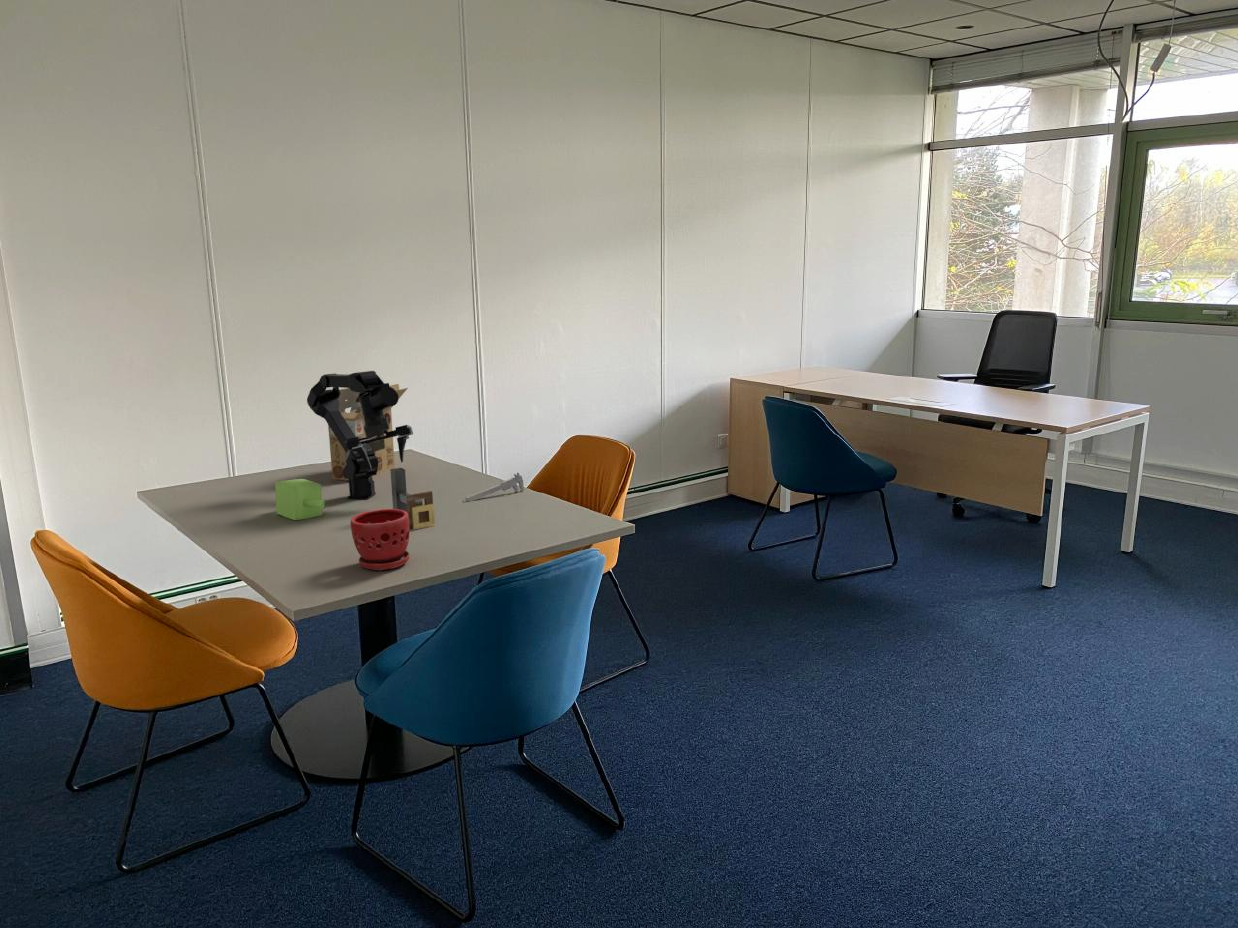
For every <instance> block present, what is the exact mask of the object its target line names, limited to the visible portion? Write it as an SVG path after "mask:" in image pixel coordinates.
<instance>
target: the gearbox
mask: <svg viewBox="0 0 1238 928" xmlns="http://www.w3.org/2000/svg"><path fill="white" fill-rule="evenodd" d="M322 490H323V489H322V484H320V483H317V482H315V481H312V480H308V479H305V478H299V479H298V478H297V479H287V480H280V481H276V482H275V510H276V514H278V515H280V516H282V517H285V518H286V519H290V520H294V521H299V520H306V519H312V518H315V517H320V516H322V515H323V508H324V507H325V500H324V499H323V494H322V493H323V492H322Z"/></svg>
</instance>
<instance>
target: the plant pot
mask: <svg viewBox="0 0 1238 928" xmlns="http://www.w3.org/2000/svg"><path fill="white" fill-rule="evenodd" d="M410 530H411V529H410V528H409V517H408V513H407V512H406V511H403V510H398V509H393V508H385V509H376V510H369V511H364V512H362V513H359V514H356V515H354V516H352V517H351V519H350V531H351V535H352V540H353V542H354V546H355V549H356V551H357V552H358V554H359V556H360V557H359V558H358V563H359V565H361V566H362V567H363V568H365V569H368V570H372V571H384V570H391V569H395V568H399V567H400V566H403V565H404V564H406V563H407V562H408V561H409V559H410V557H411V553H410V552H409V551H408V550H407V548H408V546H409V541H410Z"/></svg>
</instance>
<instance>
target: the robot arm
mask: <svg viewBox="0 0 1238 928" xmlns="http://www.w3.org/2000/svg"><path fill="white" fill-rule="evenodd" d="M390 386H391V385H390V383H389V382H386V383H385V382H384V381H383V380H382V379H381V377H380V376H379V375H378V374H377V371H374V370H367V371H357V372H353V373H349V374H348V373H347V374H343V373H342V374H341V373H340V374H339V373H327V374H326V373H325V374H323V375H321V376H320V378H319V380H318V381H317V383H316V384H314V385H313V386H312V387H311V388H310V390H309V392H308V396H307V399H306V403H307V405H308V407H309V408H310V409H311V410H312V412H313V413H314V414H315V415H316V416H319V417H321V418H322V419H324V420H325V422H326V423H327V426H328V425H329V427H330V428H331V430H332V431H333V433H334V434H335V436H336V438H337V439H338V441H339V442H340V444H341V445H342V447H343V448H344V450H345V452H346V466H345V468H344V469H343V471H342V472H343V476H344V478H346V479H349V481H348V490H349V495H348V496H347V499H349V500H350V499H358V500H359V499H360V500H367V499H370V498H372V497H373V496H375V495H376V489H375V488H376V487H375V481H374V479H373V477H374V476H373V475H375V476H378V475H377V469H378V458H377V457H376V455H375V454H376V453H375V452H374V451H373V450H372V448H371V446H370V445H369V444H366V443H371V442H375V441H379V440H383V439H387V438H391V437H393V438H395V437H396V441H397V446H398V453H399V459H400V463H403V462H404V456H405V447H406V443H407V440H408V439H410V436H412V435H414V432H413V428H412V426H410V425H408V424H404V425H400V426H396V427H395V428H394V429H395V430H393V431H390V432H388V429H389V428H390V426H389V422H388V420H387V417H386V418H385V417H384V413H383V410H384V409H387V408H389V407H392V406H393V407H394V406H396V405H397V404H398V402H399V400H400V398H399V397H398V393H397V392H396V391H395V390H394V389H393V388H392V387H390ZM328 388H332V389H328ZM344 388H350V390H351V391H354V392H360V393H359V395H358V397H357V399H356V402H360V404H361V408H362V412H363V416H364V420H365V426H364V431H365V434H366V437H365V438H361V437H356V436H355V434H354V433H353V431H352V430H351V428H350V427H349V425H348V424H347V422H346V421H345V419H344V417H343V416H342V414H341V413H340V411H339V409H338V408H339V400H338V398H339V396H340V391H339V390H340V389H344ZM366 393H367V394H366ZM393 407H392V408H393ZM383 434H386V435H385V436H382V435H383ZM375 436H377V437H375ZM372 437H374V438H372ZM375 438H376V439H375ZM363 444H364V445H363Z"/></svg>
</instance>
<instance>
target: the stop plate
mask: <svg viewBox="0 0 1238 928" xmlns="http://www.w3.org/2000/svg"><path fill="white" fill-rule="evenodd" d="M409 494H410V495H406V497H407V513H408V517H409V530H411V529H412V519H411V507H413V506H416V502H415V500H419V499H422V500H423V502H424V503H423V505H424V504H430V503H432V504H434V499H433V496H434V495H433V491H432V490H428V491H423V492H417V493H409ZM418 515H419V522H421V521H427V511H423V512H418Z"/></svg>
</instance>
